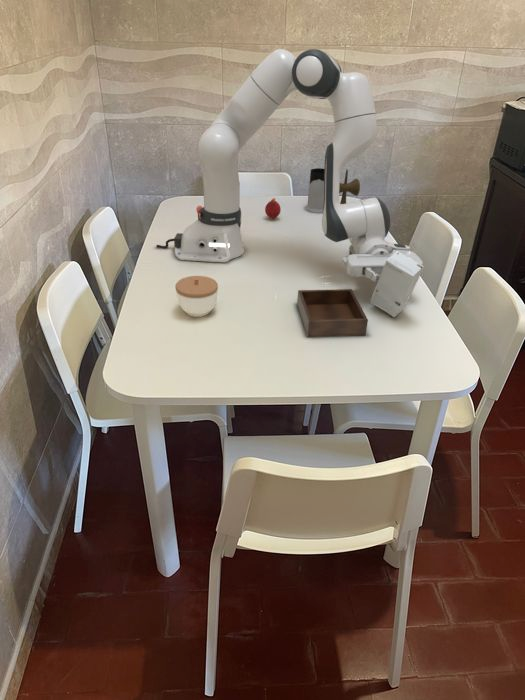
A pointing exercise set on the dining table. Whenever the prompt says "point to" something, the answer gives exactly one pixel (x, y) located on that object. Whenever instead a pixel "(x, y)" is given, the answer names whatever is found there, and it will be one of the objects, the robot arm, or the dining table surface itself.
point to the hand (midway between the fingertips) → (392, 278)
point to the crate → (331, 313)
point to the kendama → (349, 188)
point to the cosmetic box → (396, 283)
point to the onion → (272, 209)
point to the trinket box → (197, 295)
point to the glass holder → (316, 191)
